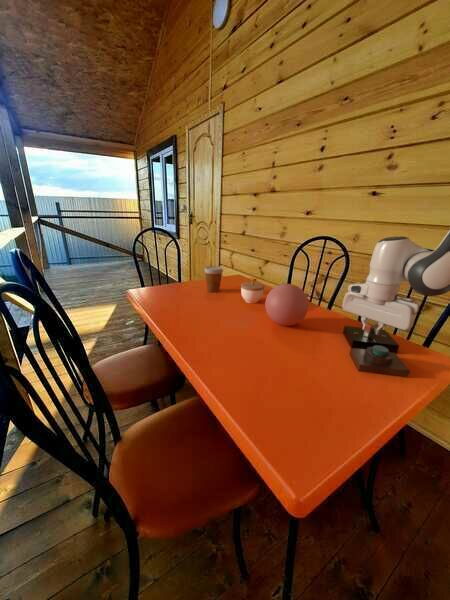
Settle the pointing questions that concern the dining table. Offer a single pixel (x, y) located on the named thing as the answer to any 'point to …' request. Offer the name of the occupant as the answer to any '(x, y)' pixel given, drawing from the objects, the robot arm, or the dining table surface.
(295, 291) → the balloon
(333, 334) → the dining table surface
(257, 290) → the trinket box
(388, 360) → the button block
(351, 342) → the panel
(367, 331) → the knob
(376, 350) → the button
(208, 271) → the disposable coffee cup
